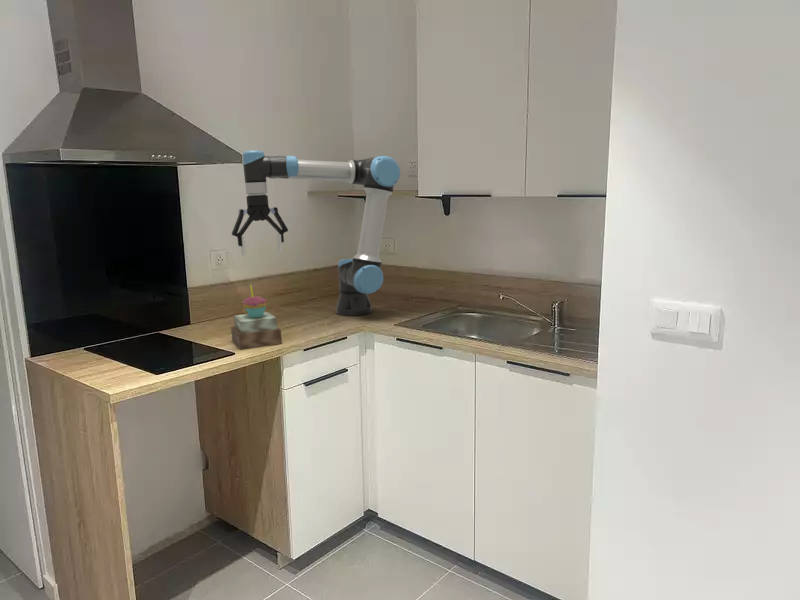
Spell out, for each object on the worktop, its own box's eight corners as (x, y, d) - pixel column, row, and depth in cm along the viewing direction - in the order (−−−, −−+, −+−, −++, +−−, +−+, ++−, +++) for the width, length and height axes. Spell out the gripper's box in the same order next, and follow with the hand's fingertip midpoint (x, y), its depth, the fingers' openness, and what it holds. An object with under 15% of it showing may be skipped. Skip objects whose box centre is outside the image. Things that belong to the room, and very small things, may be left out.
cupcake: (261, 319, 194) (258, 284, 192) (238, 318, 196) (235, 284, 193) (272, 314, 202) (270, 280, 200) (250, 313, 204) (247, 280, 202)
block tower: (271, 335, 209) (269, 310, 208) (281, 343, 197) (280, 317, 195) (232, 340, 203) (230, 315, 202) (240, 349, 191) (238, 323, 189)
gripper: (286, 193, 217) (291, 249, 221) (219, 196, 205) (225, 255, 210) (293, 193, 211) (298, 250, 215) (224, 196, 199) (230, 257, 203)
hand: (262, 253), depth 212 cm, fingers open, 13 cm apart
